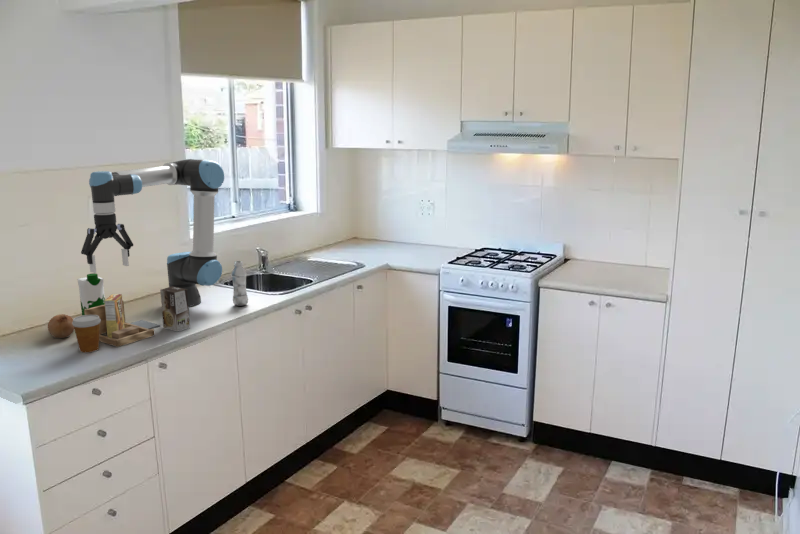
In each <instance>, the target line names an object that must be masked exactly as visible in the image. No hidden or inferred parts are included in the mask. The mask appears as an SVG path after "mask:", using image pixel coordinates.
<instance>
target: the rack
mask: <svg viewBox="0 0 800 534" xmlns="http://www.w3.org/2000/svg"><path fill="white" fill-rule="evenodd" d="M124 301H125V300H122V302H123V316H124V328H127V327H131V326H133V327H138V328H139V332H140V333H136V334H133V335H130V336H126V337H123V338H120V339H116V340H115V339H112V338H109V337H108V336H107V335H103V334H107V324H106V313H105V305H101V306H97V307H93V308H89V309H85V310H84V313H85V315H98V316H99V318H100V319H101V321H100V329H99V342H101V343H104V344H108V345H111V346H114V347H117V348H119V347H122V346H125V345H128V344H131V343H135V342H139V341H141V340H144V339H147V338H150V337H154V336H155V328H153V329H147V328H144V327H140V326H137V325H133V324H130V323H131V322H130V323H128V322H126V315H125V304H124V303H125V302H124Z"/></svg>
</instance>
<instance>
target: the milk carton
mask: <svg viewBox="0 0 800 534" xmlns="http://www.w3.org/2000/svg"><path fill="white" fill-rule="evenodd" d="M98 275H99V274H98V273H97V272H96V273H93V272H91V273H88V274H86V277H80V278H77V279H76V280H77V286H78V291H79V299H80V301H79V302H80V308H81V316H83V315H85V313H84V310H85V309H89V308H93V307H97V306H101V305H105V302H104V300H105V299H106V295H105V288H104V287H105V285H104V281H105V280H104V278H103V277H101V276H98Z"/></svg>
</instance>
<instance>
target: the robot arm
mask: <svg viewBox="0 0 800 534" xmlns="http://www.w3.org/2000/svg"><path fill="white" fill-rule="evenodd" d="M224 182H225V173H224V169H223V167H222V166H221V165H220V164H219V163H218V162H217V161H214V160H211V159H194V158H193V159H192V158H190V159H189V158H187V159H186V158H185V159H182V160H176V161H171V162H165V163H164V164H163V165H160V166H159V165H157V166H152V167H143V168H135V169H128V170H120V171H113V172H112V171H107V170H105V171H104V170H102V171H99V170H98V171H92V172H91V173H90V175H89V180H88V184H89V187H90V189H91V190H90V191H91V200H92V208H93V209H92V210H93V211H92V212H93V214H94V215H93V219H94V220H93V221H94V226H95V227H94V228H90V227H88V228H87V229H86V231H87V232H86V236H85V240H84V242H83V245H82V248H81V252H80V254H81V255H85V256H86V261H87V262H86V263H87V264H88V265H89V272H90V273H96V274H97V266H96V264H97V263H96V256H95V255H94V253H95V252H96V250H97V248H98V246H99V245H100V243H101V242H102V241H103V240H105V239H109V238H110V239H112V238H113V239H114V240H115V241H116V242H117V243H118V244H119V245H120V246H121V247H122V248H121V258H122V260H121V261H122V266H124V267H129V266H130V264H129V257H130V250H131V248H132V247H134V243H133V241H132V240H131V238H130V236H129V234H128V232H127V230H126V227H125V224H124V223H117V215H116V213H115V212H116V204H115V197H118V196H126V195H127V196H129V195H135V194H139V193H140V192H141V191H142V190H143V188H146V187H153V186H158V185H166V184H167V185H168V186H175V185H180V186H189V191H190V192H191V193H192V195H193V222H192V223H193V227H192V228H193V229H192V231H193V235H192V236H193V237H192V238H193V239H192V251H183V252H175V253H172V254H169V255H168V256H166V257H167V258H166V267H167V278H168V279H167V280H168V287H172V286H174V287H179V288H184V289H187V295H188V308H189V307H194V306H197V305H199V304H200V303H202V297H201V293H200V292H199V289H198V287H197V285H199V286H206V287H210V286H213V285H215V284H216V283H217V282H218V281H219V280H220V279H221V277H222V273H223V266H222V263H221V262H220V261H219V260H218V255H217V253H216V252H215V251H214V241H215V238H214V237H215V236H214V235H215V231H214V230H215V196H216V195H217V194H218V193H219V188H220V187H222V185H223V184H224ZM117 230H118V232H119V233H120V235H121V236H120V235H119V233H117ZM94 235H95V236H94ZM121 237H122V238H121Z"/></svg>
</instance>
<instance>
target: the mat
mask: <svg viewBox="0 0 800 534" xmlns="http://www.w3.org/2000/svg"><path fill="white" fill-rule="evenodd" d="M130 324H133V325H137V326H140V327H144V328H147V329H156V328H159V327H161V324H159V323H154V322H152V321H148V320H143V319H140V320H136V321H134V322H130Z"/></svg>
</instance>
